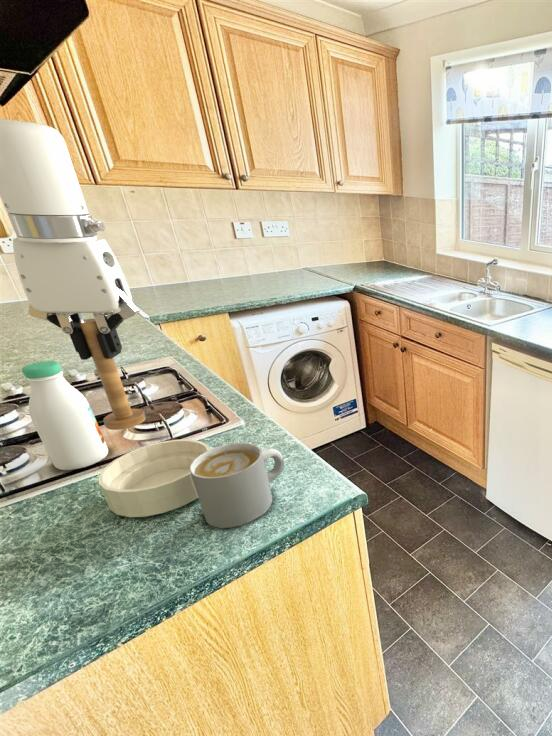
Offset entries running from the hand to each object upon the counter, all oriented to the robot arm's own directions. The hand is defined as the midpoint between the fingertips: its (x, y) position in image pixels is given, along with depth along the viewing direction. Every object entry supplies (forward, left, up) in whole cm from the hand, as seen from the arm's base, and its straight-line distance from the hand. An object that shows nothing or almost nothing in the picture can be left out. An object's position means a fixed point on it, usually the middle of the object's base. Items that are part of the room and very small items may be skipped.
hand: (101, 355), depth 64 cm
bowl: (+2, +1, -26) cm, 26 cm away
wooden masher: (0, 0, -12) cm, 12 cm away
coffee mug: (+17, +7, -26) cm, 32 cm away
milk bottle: (-21, -3, -26) cm, 34 cm away
